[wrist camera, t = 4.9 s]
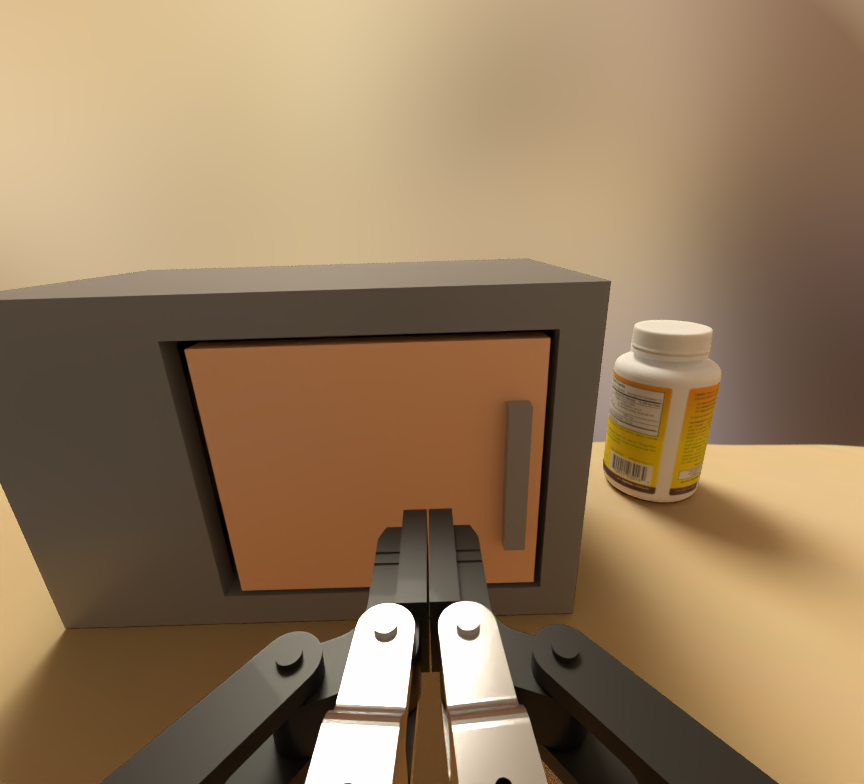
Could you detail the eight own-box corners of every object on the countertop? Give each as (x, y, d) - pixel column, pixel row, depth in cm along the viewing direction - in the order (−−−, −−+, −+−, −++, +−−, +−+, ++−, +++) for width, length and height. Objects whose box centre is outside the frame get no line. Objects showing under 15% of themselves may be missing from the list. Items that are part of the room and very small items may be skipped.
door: (236, 602, 17) (174, 354, 14) (251, 572, 19) (199, 342, 15) (536, 593, 17) (555, 342, 14) (528, 564, 19) (543, 331, 15)
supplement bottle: (684, 465, 30) (714, 318, 26) (707, 513, 25) (748, 339, 21) (598, 456, 31) (615, 315, 28) (603, 499, 26) (625, 335, 23)
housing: (65, 628, 19) (-80, 302, 14) (201, 478, 30) (149, 270, 25) (595, 612, 19) (642, 280, 14) (532, 468, 30) (545, 257, 25)
